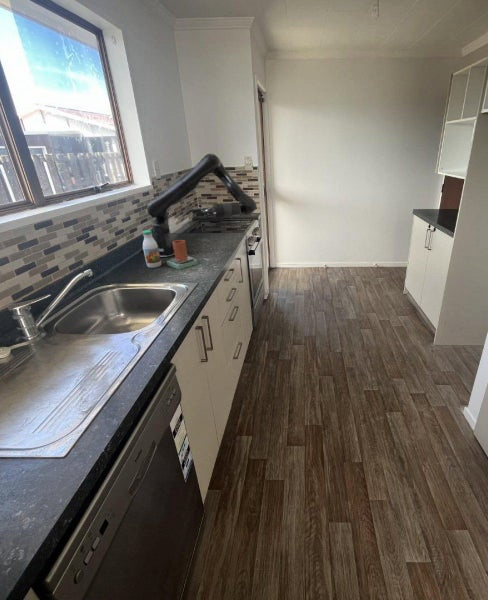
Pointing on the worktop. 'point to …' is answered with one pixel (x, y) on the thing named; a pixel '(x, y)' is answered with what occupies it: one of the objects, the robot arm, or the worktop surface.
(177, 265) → the scale
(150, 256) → the milk bottle
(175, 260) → the scale platform
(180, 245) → the cup
